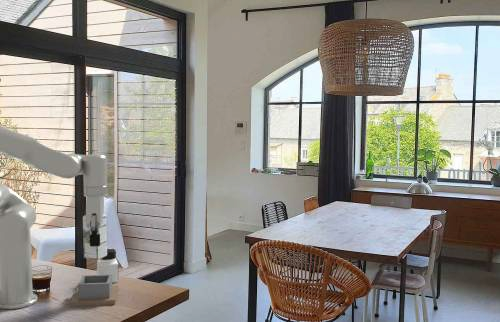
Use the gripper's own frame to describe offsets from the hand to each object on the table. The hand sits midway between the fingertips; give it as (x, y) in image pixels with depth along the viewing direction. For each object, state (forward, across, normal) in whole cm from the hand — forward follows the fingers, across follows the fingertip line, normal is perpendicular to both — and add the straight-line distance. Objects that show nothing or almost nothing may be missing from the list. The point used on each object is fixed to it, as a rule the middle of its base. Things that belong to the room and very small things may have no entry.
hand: (96, 242), depth 167 cm
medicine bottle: (+19, -19, +1) cm, 27 cm away
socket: (+19, 0, -1) cm, 19 cm away
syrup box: (+5, 0, 0) cm, 5 cm away
